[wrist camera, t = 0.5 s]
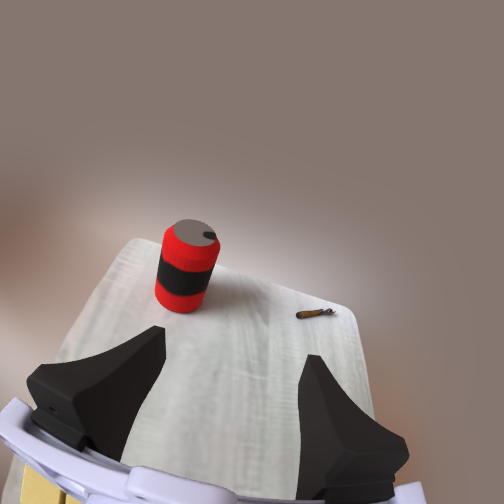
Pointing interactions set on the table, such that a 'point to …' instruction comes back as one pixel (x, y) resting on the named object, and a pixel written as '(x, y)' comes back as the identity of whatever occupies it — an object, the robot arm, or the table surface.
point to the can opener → (313, 313)
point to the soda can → (186, 265)
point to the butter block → (40, 489)
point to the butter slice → (71, 500)
